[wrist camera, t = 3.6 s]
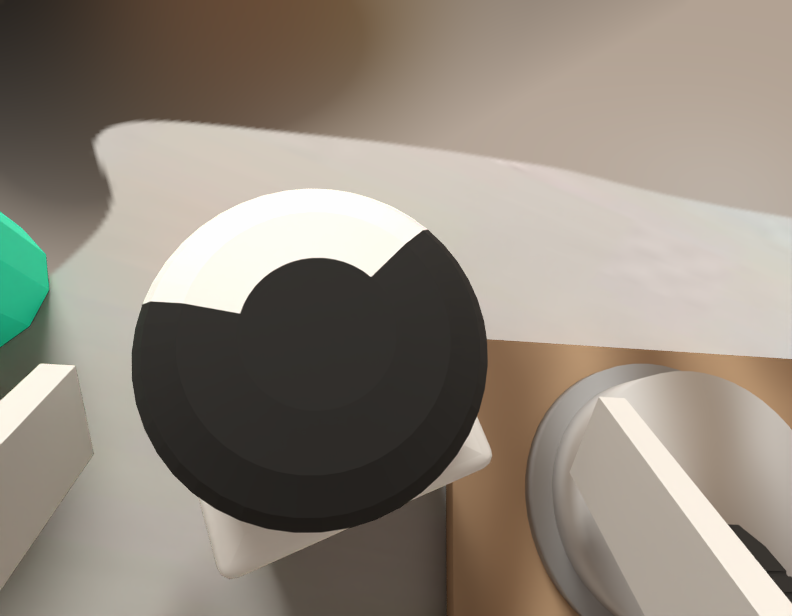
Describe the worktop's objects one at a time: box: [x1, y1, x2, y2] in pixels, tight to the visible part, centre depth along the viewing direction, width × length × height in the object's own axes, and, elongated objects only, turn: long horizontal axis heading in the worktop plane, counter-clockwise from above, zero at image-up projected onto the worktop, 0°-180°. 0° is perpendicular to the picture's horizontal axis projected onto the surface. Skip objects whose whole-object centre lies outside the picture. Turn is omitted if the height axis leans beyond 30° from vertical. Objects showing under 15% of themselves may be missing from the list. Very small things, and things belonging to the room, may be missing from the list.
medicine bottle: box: [132, 189, 492, 579], centre depth 13 cm, size 7×7×12 cm
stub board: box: [446, 339, 792, 616], centre depth 18 cm, size 16×12×4 cm
